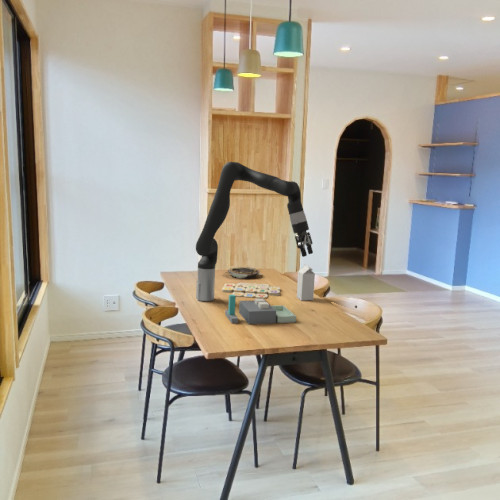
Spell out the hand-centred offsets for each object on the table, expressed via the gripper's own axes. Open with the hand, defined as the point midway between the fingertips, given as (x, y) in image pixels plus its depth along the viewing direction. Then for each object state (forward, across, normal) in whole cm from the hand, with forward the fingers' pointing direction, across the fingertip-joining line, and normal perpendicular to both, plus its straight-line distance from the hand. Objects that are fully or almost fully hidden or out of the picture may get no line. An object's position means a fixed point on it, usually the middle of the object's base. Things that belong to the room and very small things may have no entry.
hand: (307, 255), depth 234 cm
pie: (+7, -64, -74) cm, 98 cm away
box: (+26, +6, -20) cm, 33 cm away
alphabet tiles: (+15, -32, -52) cm, 63 cm away
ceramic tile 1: (+18, +15, -23) cm, 33 cm away
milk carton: (+25, -33, -22) cm, 47 cm away
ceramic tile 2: (+17, +10, -26) cm, 33 cm away
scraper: (+20, +22, -37) cm, 47 cm away
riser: (+23, +14, -28) cm, 39 cm away
